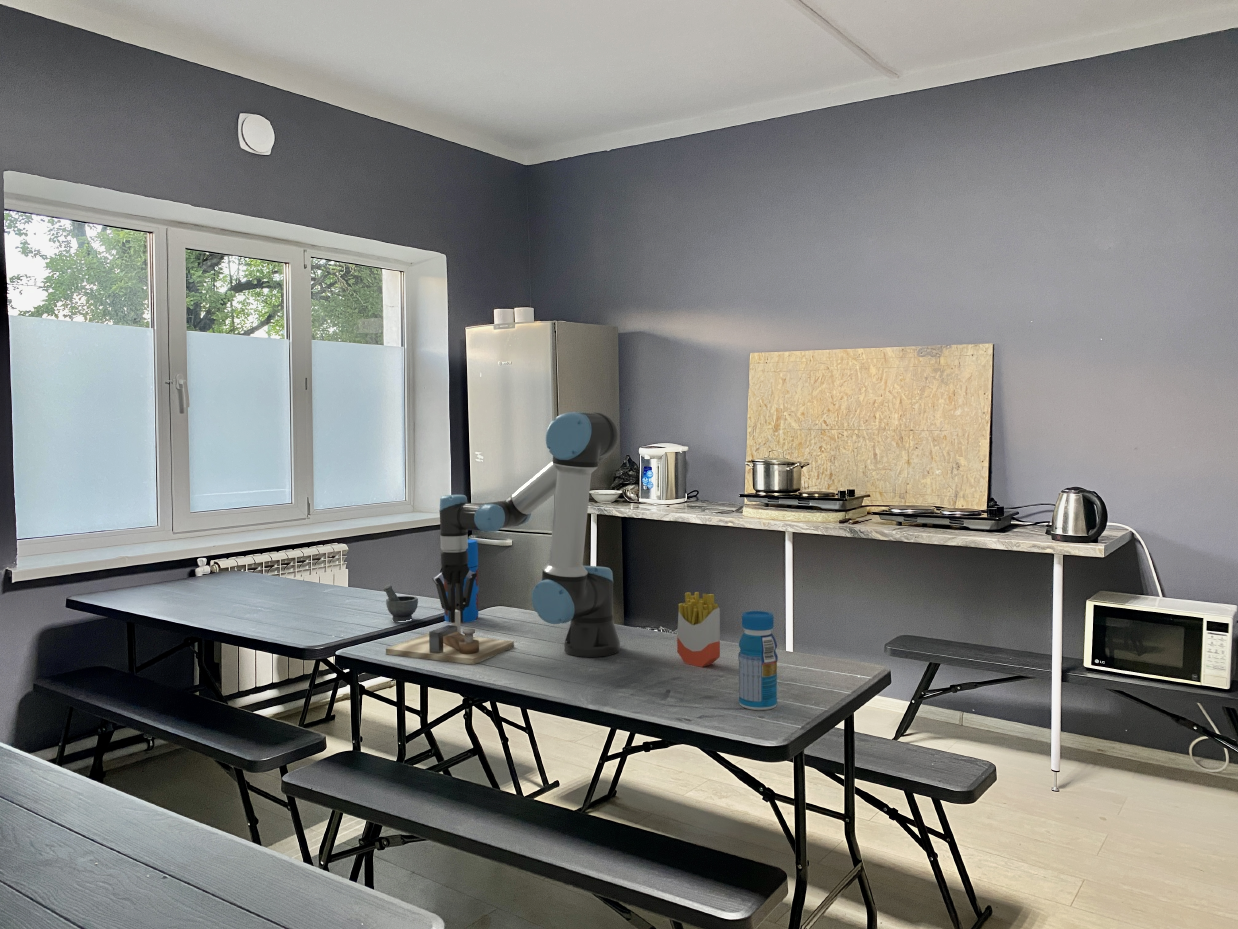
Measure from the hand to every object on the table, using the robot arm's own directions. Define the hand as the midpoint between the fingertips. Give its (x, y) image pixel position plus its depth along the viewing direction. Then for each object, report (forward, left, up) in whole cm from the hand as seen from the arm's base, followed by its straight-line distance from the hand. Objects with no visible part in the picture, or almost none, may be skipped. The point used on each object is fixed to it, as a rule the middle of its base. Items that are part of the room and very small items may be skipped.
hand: (456, 633), depth 247 cm
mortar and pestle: (+35, -19, -3) cm, 40 cm away
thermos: (+18, -28, -3) cm, 34 cm away
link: (-4, +6, -2) cm, 8 cm away
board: (-2, +6, -3) cm, 7 cm away
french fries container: (-69, -6, -3) cm, 70 cm away
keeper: (-3, +11, -2) cm, 11 cm away
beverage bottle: (-92, +21, -3) cm, 95 cm away
